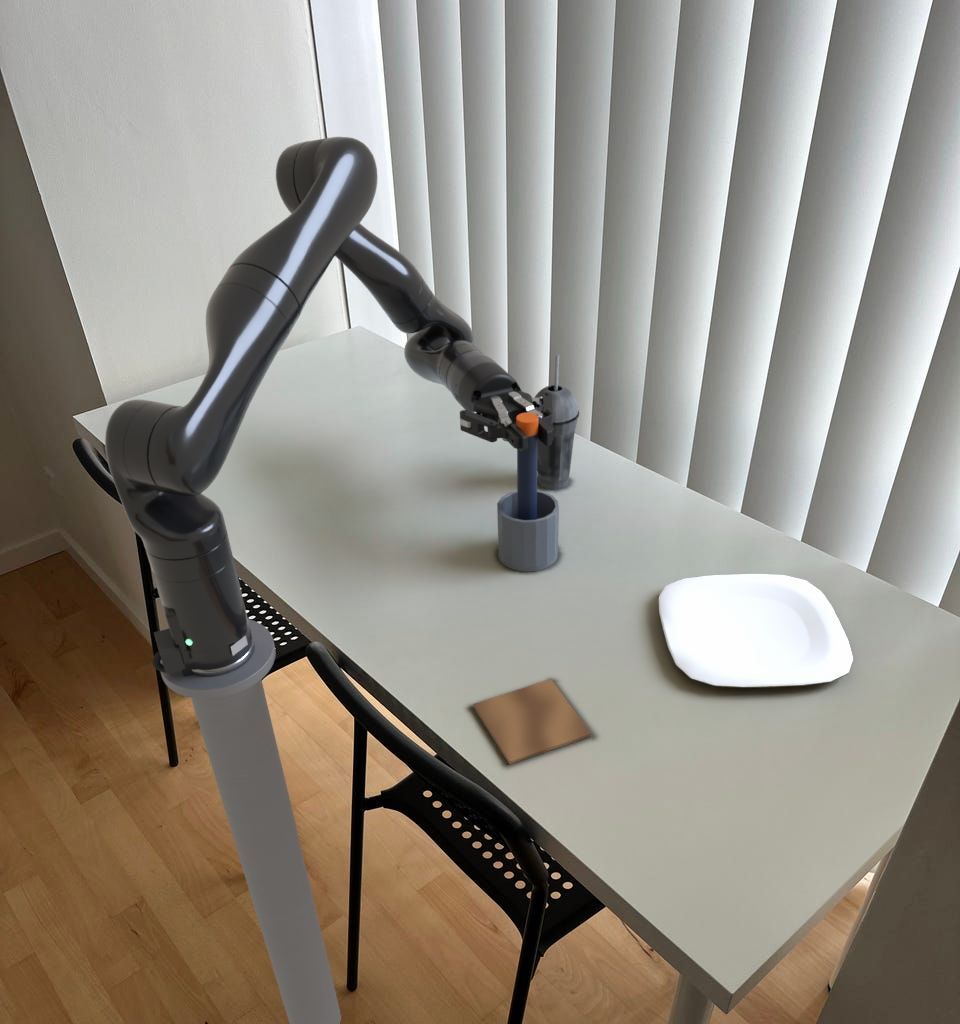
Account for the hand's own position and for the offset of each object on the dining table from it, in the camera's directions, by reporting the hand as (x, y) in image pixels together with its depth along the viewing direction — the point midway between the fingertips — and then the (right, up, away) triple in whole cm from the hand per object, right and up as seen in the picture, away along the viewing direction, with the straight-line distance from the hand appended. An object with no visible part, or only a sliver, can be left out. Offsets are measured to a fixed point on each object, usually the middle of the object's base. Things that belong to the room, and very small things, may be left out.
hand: (537, 441), depth 122 cm
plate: (+26, -24, -1) cm, 36 cm away
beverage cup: (+4, 0, +29) cm, 30 cm away
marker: (-1, -8, +10) cm, 13 cm away
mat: (-1, -34, -11) cm, 36 cm away
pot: (0, -13, +14) cm, 19 cm away
